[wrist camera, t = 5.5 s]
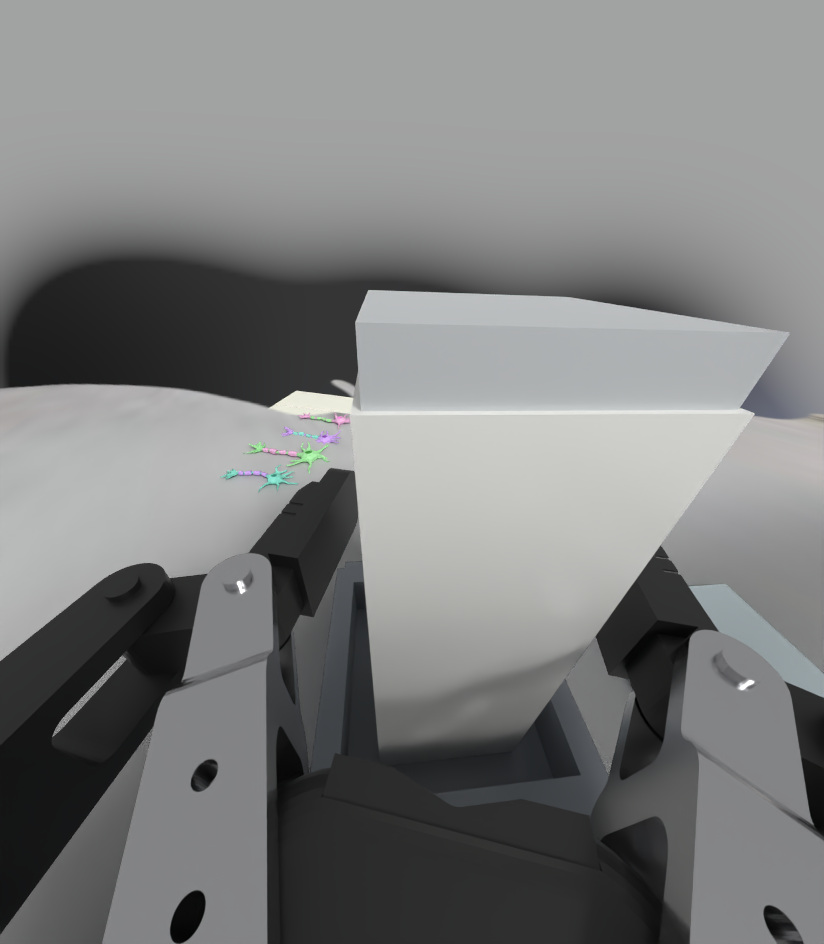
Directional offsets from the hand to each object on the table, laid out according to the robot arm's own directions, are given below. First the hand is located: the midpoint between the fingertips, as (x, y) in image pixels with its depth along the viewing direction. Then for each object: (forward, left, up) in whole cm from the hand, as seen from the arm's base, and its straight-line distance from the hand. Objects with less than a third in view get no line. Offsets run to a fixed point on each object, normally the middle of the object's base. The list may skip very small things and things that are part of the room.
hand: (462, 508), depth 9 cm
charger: (+1, +2, -7) cm, 7 cm away
